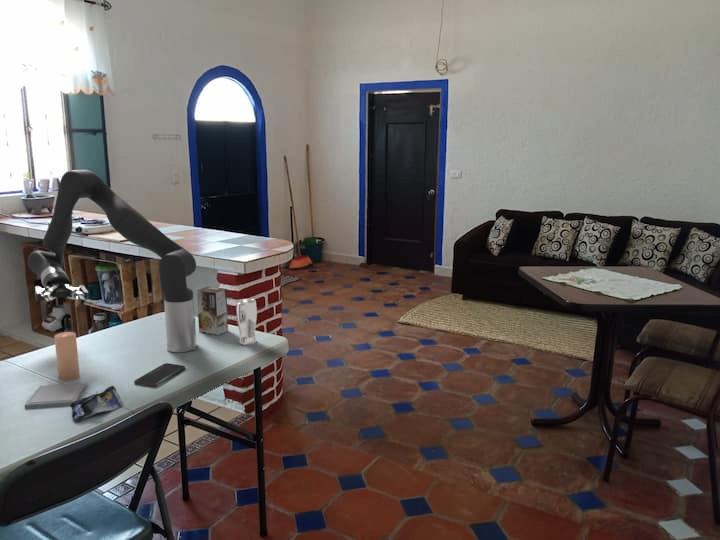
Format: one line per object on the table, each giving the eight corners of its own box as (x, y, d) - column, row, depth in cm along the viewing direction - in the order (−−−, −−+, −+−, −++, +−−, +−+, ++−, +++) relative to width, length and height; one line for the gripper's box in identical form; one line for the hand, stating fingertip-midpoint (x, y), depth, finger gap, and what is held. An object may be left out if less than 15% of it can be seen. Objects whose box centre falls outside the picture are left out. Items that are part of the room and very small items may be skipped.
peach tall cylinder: (82, 372, 165) (78, 331, 163) (77, 380, 160) (72, 337, 157) (62, 373, 164) (57, 332, 161) (56, 381, 159) (51, 338, 156)
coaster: (86, 385, 156) (86, 381, 156) (75, 404, 145) (74, 400, 145) (40, 389, 154) (39, 385, 154) (24, 408, 142) (24, 404, 142)
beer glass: (259, 339, 197) (258, 298, 193) (254, 346, 190) (253, 304, 186) (240, 338, 197) (239, 298, 194) (234, 345, 190) (233, 303, 187)
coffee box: (229, 330, 205) (227, 288, 202) (217, 335, 199) (216, 292, 196) (209, 327, 209) (207, 285, 205) (198, 331, 203) (195, 289, 200)
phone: (186, 366, 170) (155, 385, 156) (187, 369, 170) (155, 389, 156) (165, 362, 172) (132, 381, 158) (165, 366, 172) (132, 385, 158)
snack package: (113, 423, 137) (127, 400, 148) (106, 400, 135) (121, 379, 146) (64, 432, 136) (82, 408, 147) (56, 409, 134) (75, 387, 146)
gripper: (31, 271, 173) (40, 293, 161) (80, 270, 182) (93, 291, 171) (29, 292, 175) (39, 315, 164) (78, 291, 184) (90, 313, 173)
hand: (66, 303), depth 167 cm, fingers open, 8 cm apart
